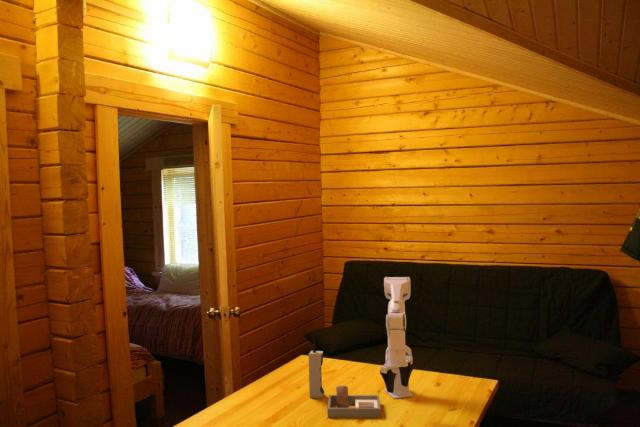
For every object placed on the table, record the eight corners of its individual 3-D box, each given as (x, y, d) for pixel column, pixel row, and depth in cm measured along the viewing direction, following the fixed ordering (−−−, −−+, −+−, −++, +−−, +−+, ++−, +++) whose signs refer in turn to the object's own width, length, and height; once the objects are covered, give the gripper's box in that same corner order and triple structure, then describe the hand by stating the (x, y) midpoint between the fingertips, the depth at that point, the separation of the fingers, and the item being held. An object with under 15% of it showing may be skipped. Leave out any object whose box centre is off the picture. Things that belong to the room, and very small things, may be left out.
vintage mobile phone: (322, 398, 193) (320, 331, 192) (309, 397, 194) (307, 331, 193) (324, 394, 197) (322, 329, 196) (311, 394, 198) (310, 328, 197)
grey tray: (327, 417, 176) (327, 408, 176) (329, 403, 188) (329, 395, 188) (380, 417, 175) (380, 408, 175) (379, 403, 187) (378, 395, 187)
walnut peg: (335, 408, 183) (335, 386, 183) (346, 407, 184) (345, 385, 184) (338, 413, 180) (338, 390, 179) (349, 411, 181) (349, 388, 180)
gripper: (392, 356, 165) (393, 398, 165) (419, 346, 175) (420, 386, 175) (375, 351, 170) (376, 392, 171) (402, 342, 180) (403, 381, 180)
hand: (397, 389), depth 173 cm, fingers open, 7 cm apart
